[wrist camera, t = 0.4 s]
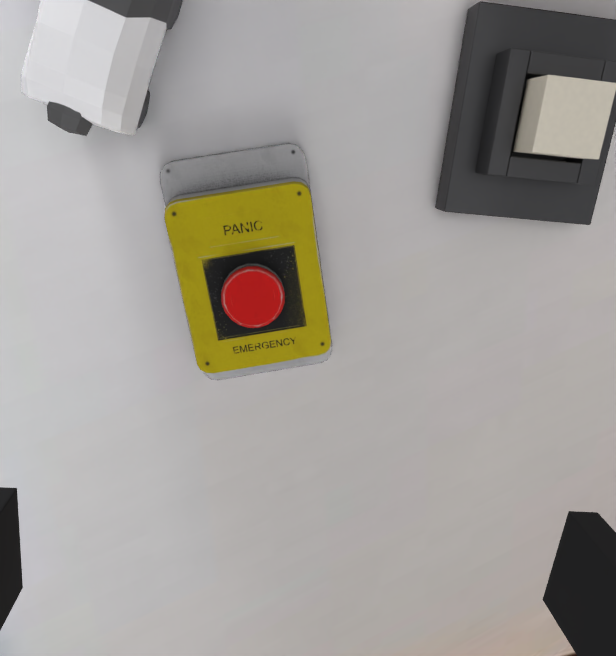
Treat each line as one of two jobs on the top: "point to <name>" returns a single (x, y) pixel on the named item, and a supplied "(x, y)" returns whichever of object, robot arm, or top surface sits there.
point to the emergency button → (247, 260)
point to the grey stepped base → (504, 112)
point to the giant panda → (96, 60)
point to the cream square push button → (564, 117)
